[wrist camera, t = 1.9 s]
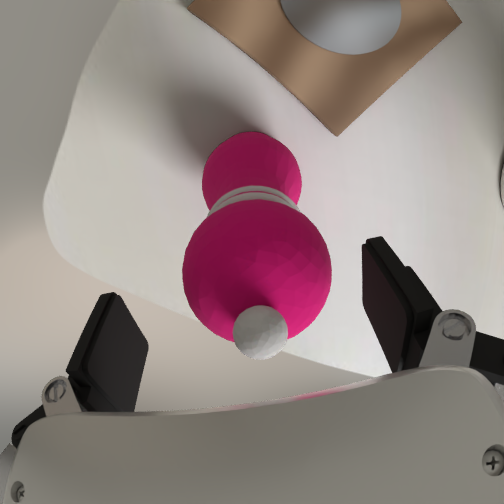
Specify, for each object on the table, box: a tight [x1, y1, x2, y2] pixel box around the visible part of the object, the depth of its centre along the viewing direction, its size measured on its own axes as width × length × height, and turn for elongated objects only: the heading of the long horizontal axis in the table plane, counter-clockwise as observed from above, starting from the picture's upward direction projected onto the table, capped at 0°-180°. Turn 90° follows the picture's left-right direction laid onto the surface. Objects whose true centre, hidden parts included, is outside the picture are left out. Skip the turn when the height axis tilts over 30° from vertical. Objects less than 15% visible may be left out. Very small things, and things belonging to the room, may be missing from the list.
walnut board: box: [187, 0, 462, 136], centre depth 18 cm, size 16×18×2 cm
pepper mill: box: [182, 132, 332, 359], centre depth 18 cm, size 7×7×20 cm
